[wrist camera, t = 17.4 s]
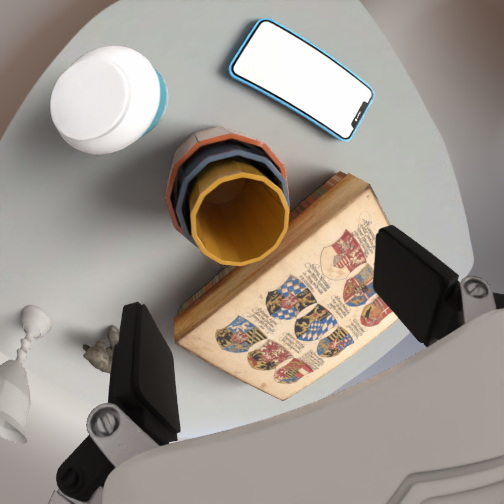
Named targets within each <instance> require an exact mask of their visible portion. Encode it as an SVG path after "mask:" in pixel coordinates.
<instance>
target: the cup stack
mask: <svg viewBox="0 0 504 504" xmlns="http://www.w3.org/2000/svg"><path fill="white" fill-rule="evenodd" d="M236 155H239V156H243V157H244V158H245V159H246V160H247V161H249V162H250V163H251V164H252V165H253V166H254V167H256V168H257V169H258V170H259V171H260V172H261V173H263V174H264V175H265V176H266V177H267V178H268V179H270V180H271V181H272V182H273V183H274V184H275V185H276V186H277V187H279V188H280V189H281V190H282V192H283V194H284V197H285V199H286V202H287V204H288V207H289V210H290V202H289V190H288V184H287V177H286V171H285V167H284V165H283V164H282V163H281V161H280V160H279V159H278V158H277V157H276V156H275V154H274V153H273V152H272V151H271V150H270V149H269V147H268V146H267V145H266V144H265V143H263V142H261V141H259V140H257V139H255V138H253V137H250V136H248V135H246V134H244V133H241V132H238V131H234V130H231V129H227V128H224V127H213V128H209V129H205V130H202V131H198V132H195V134H194V133H193V134H192V135H191V136H190V137H189V138H188V139H187V140H186V141H185V142H184V143H183V144H182V145H180V146H179V147H178V148H177V149H176V151H175V154H174V157H173V161H172V165H171V169H170V172H169V177H168V183H167V188H166V194H165V201H166V204H167V207H168V210H169V213H170V216H171V219H172V222H173V225H174V227H175V229H176V230H177V231H179V232H180V233H181V234H182V235H183V236H185V237H186V238H187V239H188V240H189V241H190V242H192V243H193V244H194V245H195V246H196V247H198V245H197V244H196V242H195V241H194V239H193V237H192V232H191V222H190V211H189V199H188V183H189V182H190V181H191V180H192V179H193V178H194V177H195V176H196V175H197V174H198V173H199V172H200V171H201V170H202V169H203V168H204V167H205V166H206V165H207V164H208V163H209V162H213V161H216V160H220V159H224V158H228V157H232V156H236ZM198 248H199V247H198Z"/></svg>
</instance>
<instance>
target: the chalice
mask: <svg viewBox="0 0 504 504" xmlns="http://www.w3.org/2000/svg"><path fill="white" fill-rule="evenodd" d="M22 315H23V317H22V326H23V329H24V331H25V332H26V337H25V338H24V339H21V344H22V345H21V348H20V349H18V350H17V359H16V360H15V361H14V360H8V361H6V362H5V363H3V364H2V365H0V436H1V437H3V438H5V439H7V440H10V441H12V442H16V443H21V444H24V443H27V438H26V435H25V431H24V430H25V425H26V420H27V416H28V412H29V408H30V393H29V386H28V380H27V374H26V370H25V369H24V367H23V366H22V362H23V361H24V359H25V358H27V350H28V349H30V348H32V345H31V339H32V338H41V337H42V336H43V335H45V334H46V333H47V332H49V331H50V330H51V327H52V324H51V321H50V318H49V317H48V315H47V314H46V313H45V312H44V311H43V310H41V309H39V308H37V307H35V306H27V307H25V308H24V309H23V312H22Z"/></svg>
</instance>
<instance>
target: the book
mask: <svg viewBox="0 0 504 504" xmlns="http://www.w3.org/2000/svg"><path fill="white" fill-rule="evenodd" d="M389 225H390V223H389V221H388V219H387V217H386V215H385V213H384V211H383V209H382V207H381V205H380V203H379V201H378V199H377V197H376V195H375V193H374V191H373V189H372V187H371V186H370V184H368V183H366V182H365V181H363V180H361V179H359V178H357V177H355V176H353V175H351V174H349V173H348V174H345V173H343V172H341V171H339V172H338V173H337V174H335V175H334V176H333V177H331V178H330V179H329V180H328V181H327V182H326V183H325V184H324V185H323V186H320V187H319V188H318V189H317V190H316V191H314V192H313V193H312V194H311V195H310V196H309V197H308V198H307V199H305V200H304V201H303V202H302V203H300V204H299V205H298V206H297V207H296V208H295V209H294V210H292V211H291V212H290V213H289V222H288V230H287V232H286V234H285V235H284V237H283V239H282V241H281V242H280V244H279V246H278V247H277V248H276V249H275V250H274V251H272V252H271V253H270V254H269V255H267V256H266V257H265V258H264V259H262V260H261V261H257V262H254V263H251V264H247V265H244V266H233V265H229V266H227V267H226V268H225V269H224V270H223V271H222V272H220V273H219V274H217V275H216V276H215V277H214V278H213V279H212V280H211V281H210V282H209V283H208V284H207V285H206V286H204V287H203V288H201V289H200V290H199V291H198V292H197V293H196V294H194V295H193V296H192V297H191V298H190V299H189V300H188V301H186V302H185V303H184V304H183V305H182V306H181V307H180V309H179V311H178V315H177V316H176V317H175V318H174V338H175V343H176V344H177V345H179V346H181V347H182V348H184V349H186V350H187V351H189V352H191V353H192V354H194V355H196V356H197V357H199V358H201V359H203V360H204V361H206V362H208V363H210V364H211V365H213V366H215V367H217V368H219V369H220V370H222V371H224V372H226V373H228V374H230V375H231V376H233V377H235V378H237V379H239V380H241V381H243V382H245V383H247V384H249V385H251V386H253V387H255V388H257V389H259V390H261V391H263V392H265V393H267V394H269V395H271V396H273V397H276V398H278V399H280V400H282V401H284V400H286V399H288V398H289V397H291V396H293V395H294V394H296V393H297V392H299V391H301V390H302V389H304V388H305V387H307V386H308V385H310V384H312V383H313V382H315V381H316V380H318V379H319V378H321V377H322V376H324V375H325V374H327V373H328V372H330V371H331V370H332V369H334V368H335V367H337V366H338V365H340V364H341V363H342V362H344V361H345V360H347V359H348V358H349V357H351V356H352V355H353V354H355V353H356V352H358V351H359V350H360V349H361V348H363V347H364V346H365V345H367V344H368V343H369V342H371V341H372V340H373V339H374V338H376V337H377V336H378V335H379V334H381V333H382V332H383V331H384V330H386V329H387V328H388V327H389V326H390V325H392V324H393V323H394V322H395V321H396V320H398V319H399V318H398V317H397V316H396V315H395V314H394V312H393V311H392V310H391V309H390V308H389V307H388V306H387V305H386V303H385V302H384V301H383V300H382V299H381V298H380V297H379V296H378V295H377V294H376V292H375V291H374V289H373V274H374V260H375V241H376V234H377V233H378V231H379V229H380V228H383V227H386V226H389Z"/></svg>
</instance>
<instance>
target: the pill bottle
mask: <svg viewBox="0 0 504 504" xmlns="http://www.w3.org/2000/svg"><path fill="white" fill-rule="evenodd" d="M167 104H168V90H167V86H166V83H165V81H164V80H163V78H162V77H161V75H160V74H159V73H158V72H157V70H156V69H155V68H154V67H153V66H152V64H151V63H150V62H149V61H148V60H147V59H146V58H145V57H144V56H143V55H141V54H140V53H138V52H136V51H134V50H132V49H130V48H126V47H121V46H106V47H101V48H97V49H94V50H92V51H90V52H88V53H86V54H84V55H83V56H81V57H80V58H78V59H77V60H76V61H75V62H74V63H73V64H72V65H71V66H70V67H69V68H68V69H67V70H66V71H65V72H64V73H63V74H62V75H61V76H60V77H59V79H58V81H57V82H56V84H55V86H54V88H53V91H52V94H51V99H50V113H51V117H52V120H53V122H54V124H55V126H56V127H57V129H58V131H59V133H60V135H61V136H62V137H63V139H64V140H65V141H66V142H67V143H68V144H69V145H71V146H72V147H74V148H75V149H77V150H79V151H82V152H85V153H88V154H96V155H102V154H109V153H113V152H117V151H119V150H122V149H124V148H126V147H127V146H129V145H130V144H132V143H134V142H135V141H136V140H138V139H139V138H141V137H142V136H144V135H145V134H147V133H148V132H149V131H151V130H152V129H153V128H154V127H155V126H156V125H157V124H158V123H159V122H160V120H161V119H162V117H163V116H164V114H165V111H166V108H167Z"/></svg>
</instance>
